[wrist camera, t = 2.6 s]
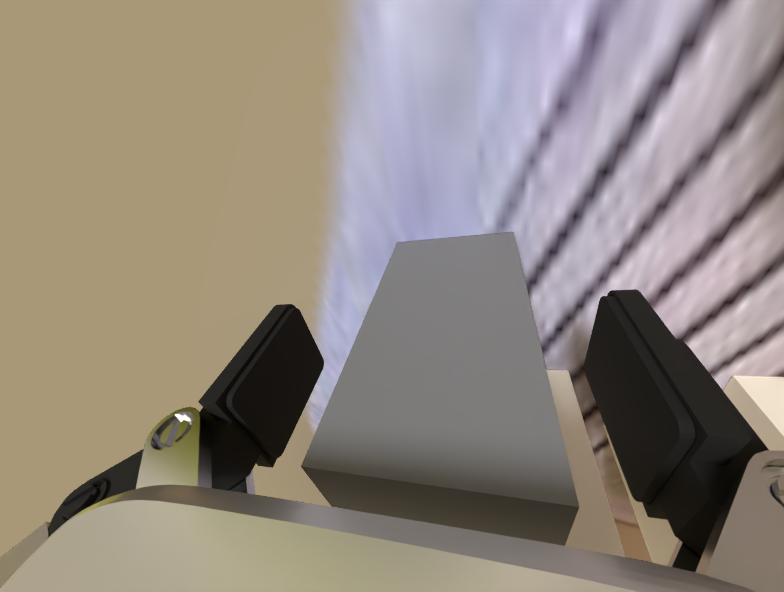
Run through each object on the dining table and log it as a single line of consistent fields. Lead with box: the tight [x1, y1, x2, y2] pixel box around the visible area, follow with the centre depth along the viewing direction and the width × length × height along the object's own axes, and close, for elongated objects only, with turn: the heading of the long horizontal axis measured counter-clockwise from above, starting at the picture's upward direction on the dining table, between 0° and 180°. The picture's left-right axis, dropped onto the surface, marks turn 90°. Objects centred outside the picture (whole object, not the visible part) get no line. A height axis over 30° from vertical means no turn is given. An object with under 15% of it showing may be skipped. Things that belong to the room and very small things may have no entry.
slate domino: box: [301, 232, 579, 546], centre depth 10 cm, size 2×5×10 cm, turn 102°
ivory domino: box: [547, 370, 626, 557], centre depth 14 cm, size 2×5×10 cm, turn 12°
